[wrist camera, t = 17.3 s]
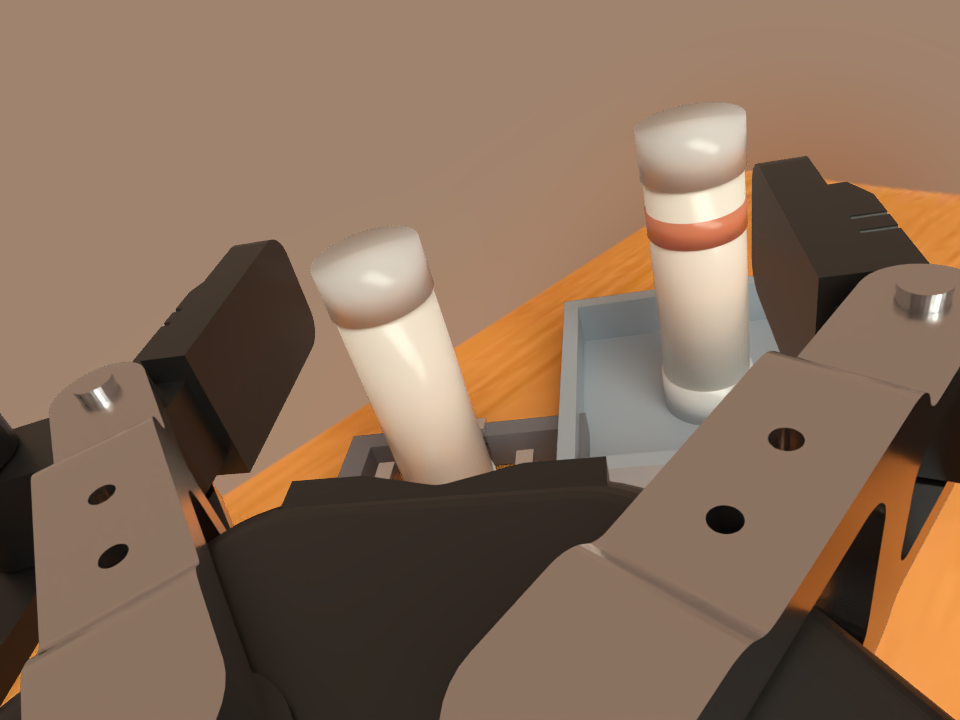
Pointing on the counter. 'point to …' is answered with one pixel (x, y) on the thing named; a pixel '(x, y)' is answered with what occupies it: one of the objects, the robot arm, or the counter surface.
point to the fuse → (403, 353)
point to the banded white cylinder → (698, 249)
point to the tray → (627, 383)
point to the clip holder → (501, 440)
